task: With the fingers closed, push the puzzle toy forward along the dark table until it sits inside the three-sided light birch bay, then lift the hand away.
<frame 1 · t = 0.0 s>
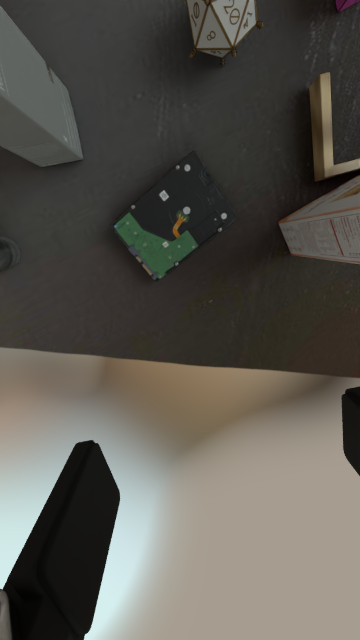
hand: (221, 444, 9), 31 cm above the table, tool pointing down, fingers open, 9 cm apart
cosmetic box: (51, 129, 32), on the table
bay: (357, 120, 32), on the table
disk drive: (174, 222, 36), on the table
cracker box: (326, 213, 36), on the table
game die: (216, 37, 29), on the table
beverage cup: (6, 251, 37), on the table
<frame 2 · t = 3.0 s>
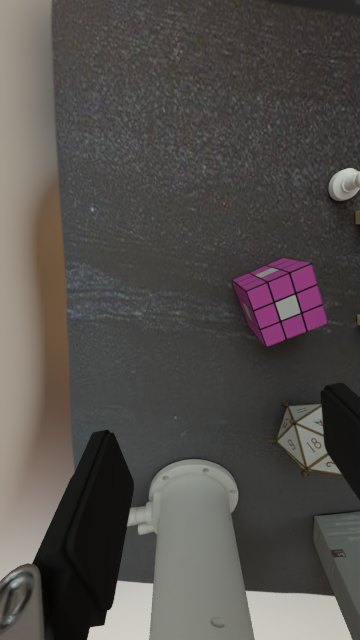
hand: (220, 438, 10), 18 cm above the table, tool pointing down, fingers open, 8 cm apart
cosmetic box: (336, 525, 38), on the table
chess pawn: (340, 186, 23), on the table
puzzle toy: (264, 293, 26), on the table
game die: (297, 412, 31), on the table
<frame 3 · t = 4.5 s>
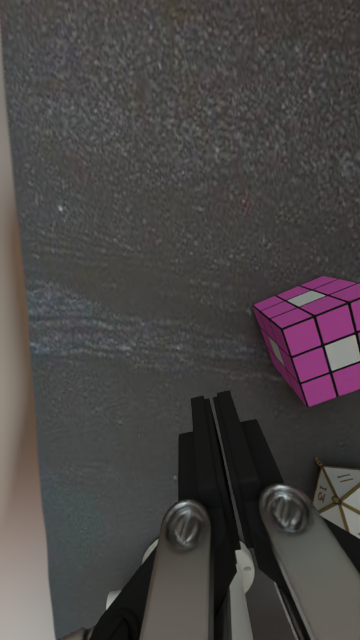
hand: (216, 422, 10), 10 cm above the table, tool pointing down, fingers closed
puzzle toy: (295, 322, 20), on the table
game die: (332, 471, 24), on the table
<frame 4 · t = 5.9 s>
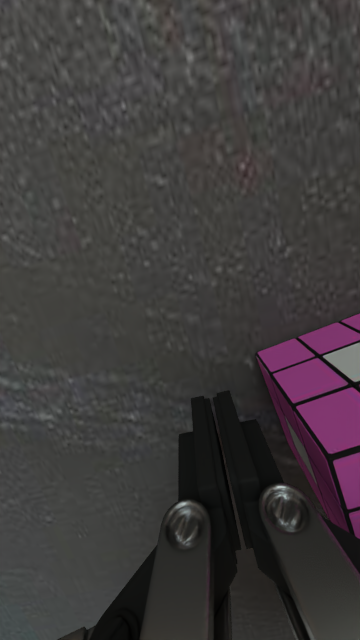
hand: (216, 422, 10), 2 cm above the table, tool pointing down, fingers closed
puzzle toy: (327, 378, 12), on the table, touching gripper
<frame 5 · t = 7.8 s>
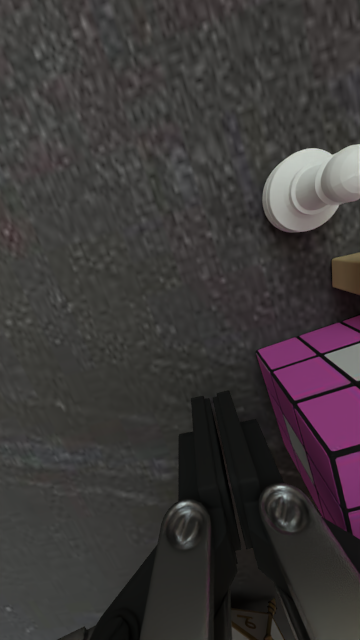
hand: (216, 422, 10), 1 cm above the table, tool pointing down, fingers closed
chess pawn: (293, 196, 9), on the table
puzzle toy: (326, 379, 12), on the table, touching gripper
game die: (230, 601, 17), on the table
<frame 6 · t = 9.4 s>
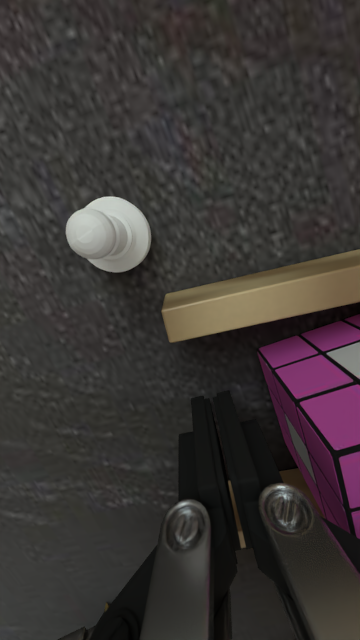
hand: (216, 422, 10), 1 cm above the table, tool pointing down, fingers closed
chess pawn: (119, 236, 10), on the table
bay: (297, 391, 12), on the table
puzzle toy: (327, 377, 12), resting in bay, touching gripper
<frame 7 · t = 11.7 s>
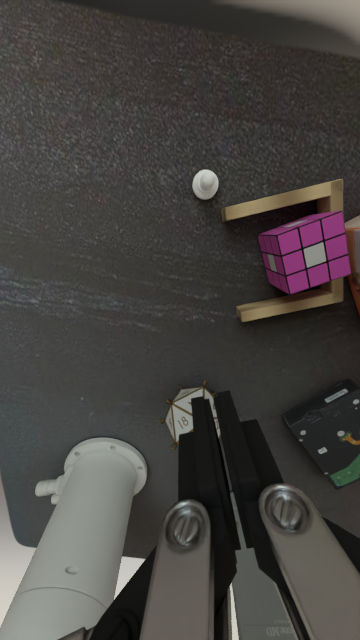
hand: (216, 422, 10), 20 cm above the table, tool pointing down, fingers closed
cosmetic box: (245, 502, 41), on the table
chess pawn: (204, 186, 25), on the table
bay: (274, 256, 27), on the table
puzzle toy: (287, 250, 27), resting in bay
disk drive: (335, 428, 35), on the table
game die: (194, 396, 34), on the table
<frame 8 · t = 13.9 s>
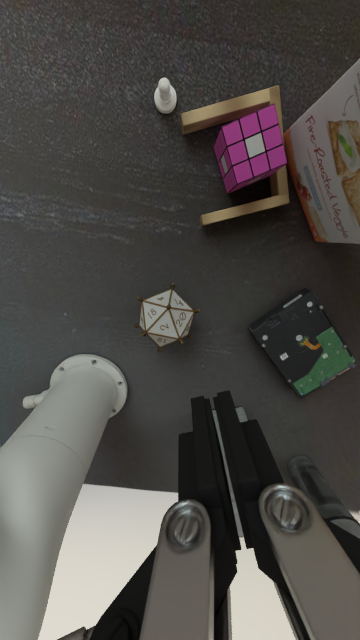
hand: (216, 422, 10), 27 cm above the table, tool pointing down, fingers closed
cosmetic box: (220, 423, 44), on the table
chess pawn: (165, 101, 29), on the table
bay: (229, 167, 31), on the table
puzzle toy: (241, 162, 31), resting in bay
disk drive: (297, 341, 39), on the table
cracker box: (314, 184, 32), on the table
game die: (167, 310, 37), on the table
beverage cup: (298, 463, 47), on the table
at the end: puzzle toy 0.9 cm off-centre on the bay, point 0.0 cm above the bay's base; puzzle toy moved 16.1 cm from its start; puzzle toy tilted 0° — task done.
